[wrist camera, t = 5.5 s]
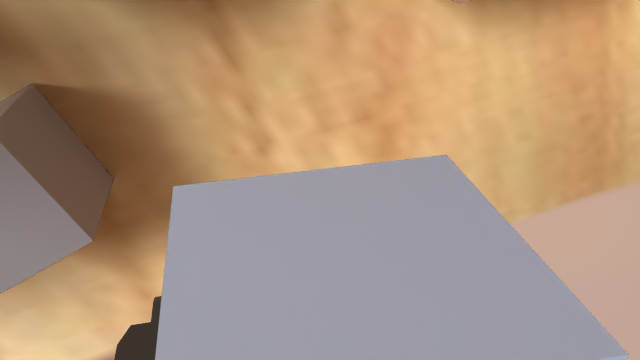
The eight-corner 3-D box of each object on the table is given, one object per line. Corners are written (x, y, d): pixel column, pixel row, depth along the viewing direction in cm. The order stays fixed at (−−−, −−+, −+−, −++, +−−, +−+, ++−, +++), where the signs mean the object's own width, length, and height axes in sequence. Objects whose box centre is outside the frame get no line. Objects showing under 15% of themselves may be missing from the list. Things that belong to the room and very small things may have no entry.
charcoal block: (-72, 144, 26) (-143, 206, 21) (32, 82, 25) (-12, 129, 20) (18, 232, 29) (-23, 306, 23) (114, 178, 28) (93, 241, 23)
